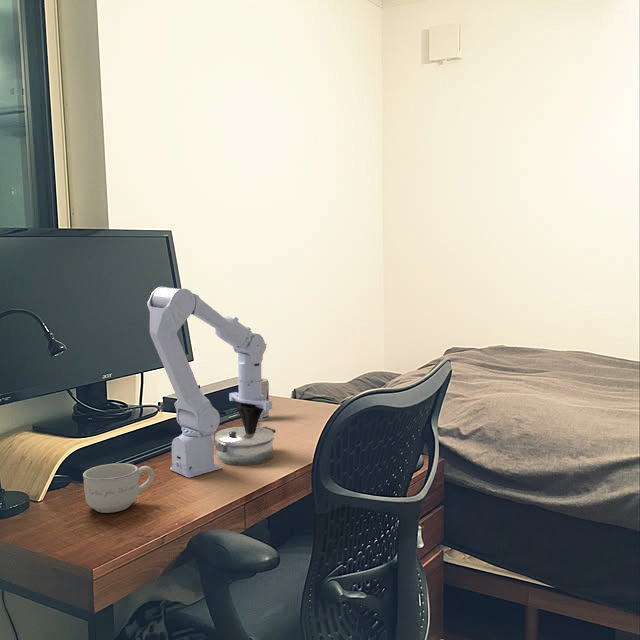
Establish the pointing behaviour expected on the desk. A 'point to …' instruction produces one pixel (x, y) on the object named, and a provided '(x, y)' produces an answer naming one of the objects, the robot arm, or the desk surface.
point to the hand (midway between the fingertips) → (250, 432)
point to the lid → (244, 436)
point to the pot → (244, 454)
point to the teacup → (114, 486)
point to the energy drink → (265, 392)
